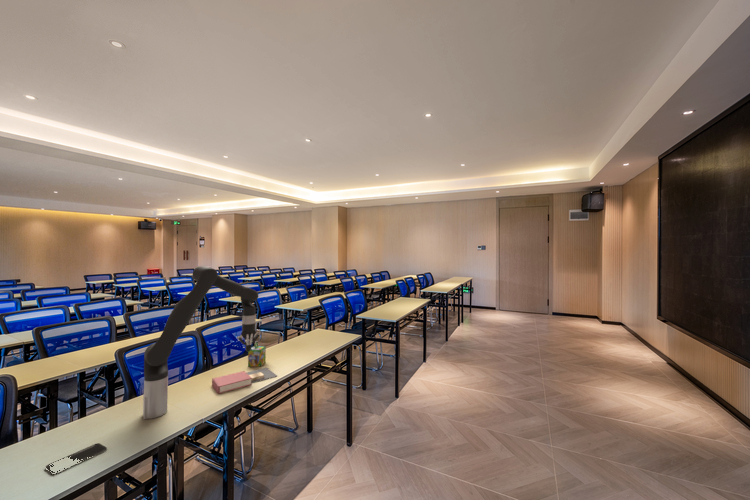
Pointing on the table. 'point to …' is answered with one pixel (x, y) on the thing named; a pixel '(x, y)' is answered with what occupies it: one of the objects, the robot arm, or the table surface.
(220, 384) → the book deck
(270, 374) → the desk mat
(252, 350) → the chalk box
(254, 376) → the block
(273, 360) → the table surface
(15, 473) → the table surface
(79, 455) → the phone
